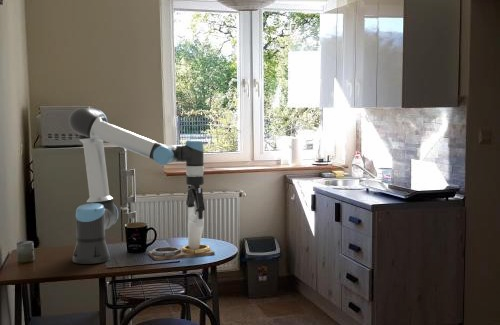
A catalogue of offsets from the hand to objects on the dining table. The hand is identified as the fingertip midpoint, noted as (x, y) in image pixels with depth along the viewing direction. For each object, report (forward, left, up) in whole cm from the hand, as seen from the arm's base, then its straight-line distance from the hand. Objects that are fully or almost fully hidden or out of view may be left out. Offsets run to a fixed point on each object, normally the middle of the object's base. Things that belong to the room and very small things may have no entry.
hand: (195, 224), depth 255 cm
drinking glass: (-2, +3, -11) cm, 11 cm away
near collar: (-11, -7, -12) cm, 18 cm away
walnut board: (-6, -3, -13) cm, 14 cm away
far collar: (0, 0, -12) cm, 12 cm away
